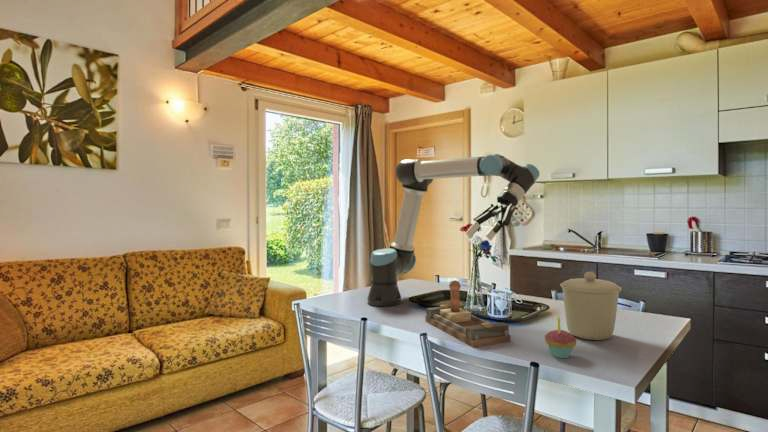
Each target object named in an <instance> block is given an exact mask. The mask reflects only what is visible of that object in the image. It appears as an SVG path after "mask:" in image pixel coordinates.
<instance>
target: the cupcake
mask: <svg viewBox="0 0 768 432" xmlns="http://www.w3.org/2000/svg"><path fill="white" fill-rule="evenodd" d="M544 341H545V343H546V344H547V345H548V347H549V350H550V353H551V356H553V357H554V358H555V357H556V358H557V359H568V358H570V356H571V352H572V350H573V349H574V347H575V346H576V345H577V338H576V336H574V335H572V334H571V333H570V332H569V331H567V330H564V329H563V330H562V329H561V318H560V315H558V316H557V329H555V330H554V329H553V330H550V331H548V332H547V333H546V334H545V335H544Z"/></svg>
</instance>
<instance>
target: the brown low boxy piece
mask: <svg viewBox="0 0 768 432" xmlns="http://www.w3.org/2000/svg"><path fill="white" fill-rule="evenodd" d="M449 308H451V304H450V305H449V304H440V305H439V306H437V307H435V306H434V307H427V308H426V315H425V318H424V319H425V320H424V321H425V322H426V323H429V324H430V325H432V326H434V327H435V328H438V329H439V330H441V331H443V332H445V333H446V334H448V335H450V336H453V337H454V338H455V339H457V340H459V341H460V342H463V343H465V344H466V345H469V346H471V347H472V348H475V347H476V348H477V347H481V346H482V345H483V346H488V344H489V345H494V344H493V343H496V344H500V343H501V342H502V343H506V342H507V343H509V342H511V340H512V339H511V337H512V336H511V334H509V330H510V329H509V324H508V323H505V322H496V323H491V322H490V321H487V320H485V319H482V318H480V317H477V316H475V315H473V314H471V321H465V322H458V323H454V322H452V321H450V320H448V319H446V318H443V317H441V316H440V310H441V309H449ZM460 308H462V309H464V306H463V305H461V304H460Z"/></svg>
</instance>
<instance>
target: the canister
mask: <svg viewBox="0 0 768 432" xmlns="http://www.w3.org/2000/svg"><path fill="white" fill-rule="evenodd" d="M583 277H584V278H580V277H579V278H570V279H567V280H564V281H563V282H561V283H560V284H559V286H560V287H561V288H562V297H563V305H564V306H563V307H564V312H565V322H566V327H567V330H568V333H570V334H572V335H573V336H574V337H575V338H580V339H583V340H589V341H603V340H607V339H609V338H611V336H612V335H613V334H614V331H615V327H616V326H615V325H616V318H617V311H618V305H619V304H618V303H619V293H620V292H621V290H622V287H621V286H619V285H618V284H616V283H615V282H614V281H613V282H612V281H609V280H606V279H605V280H604V279H601V278H600V279H598V278H597V275H596V273H595V272H593V271H586V272H584V274H583Z"/></svg>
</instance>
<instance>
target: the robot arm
mask: <svg viewBox="0 0 768 432" xmlns="http://www.w3.org/2000/svg"><path fill="white" fill-rule="evenodd" d="M489 176H490V177H492V176H494V177H501V178H502V179H504V180H505V181H507V182H508V184H507V185H506V186H505V187H504V189H503V191H501V192H500V193H499V195H497V198H496V201H497V203H495V204H493V202H492V203H490V204H489V205H488V206H487V207H485V209H483V210H482V211H481V212H480V213H478V214H477V215H476V216H474V217H473V218H472V220H473V221H474V222H473V223H472V225H470V226H469V228H468V229H467V230H466V232H465V234H466V236H468V238H472V237H473V235H474V234H476V232H477V230H478V229H479V228H480V227H481V226H482V225H481V224H483V223H485V222H486V221H488V220H491V218H495V217H497V216H498V219H497V220H496V222H495V223H494V225H492V227H491V228H490V229H489V230H488V231H487V233H486V234H485V237H486V238H487V240H489V241H492V240H493V239H494V238H495V236H496V235H497V234H498V233H499V232H500V230H501V229H502V228H504V227H508V226H509V225H510V223H511V219H512V217H513V215H514V214H513V213H514V212H515V211H516V206H517V205H518V204H519V202H520V201H521V200H522V199H523V198H524V197H525V195H526V194H527V192H528V191H529V190H530V189H531V188H532V187H533V185H535V183H536V181H537V180H538V179H539V177H540V170H539V168H537V166H535V165H534V164H531V163H525V164H524V165H523V166H521V165H519V164H517V163H515V161H512V160H510V159H508V158H507V157H506V156H504V155H501V154H499V153H495V154H488V155H485V156H474V157H473V156H472V157H471V156H470V157H459V158H458V157H457V158H447V159H445V158H444V159H433V160H432V159H431V160H423V159H421V158H404V159H403V160H400V161H399V162H398V163H397V165H396V167H395V177H396V179H397V180H398V182H400V184H401V185H402V186H401V188H402V190H403V191H404V193H403V197H402V202H401V207H400V211H399V216H398V217H399V218H398V221H397V227H396V231H395V237H394V241H392V242H391V243H390V244H389V248H379V249H375V250H374V251H372V252H371V254H370V261H369V263H370V288H369V291H368V295H367V304H368V305H371V306H374V307H392V306H398V305H400V304H401V303H402V295H401V292H400V289H399V286H398V276H401V275H406V274H408V273H410V272H411V271H412V270H413V269H414V268H415V266H416V263H417V257H416V255H415V246H413V244H414V237H415V233H416V229H417V224H418V219H419V215H420V210H421V205H422V200H423V196H424V195H425V194H426V193H427V192H428V188H429V185H431V183H432V182H433V181H434V179H436V180H437V179H450V178H453V179H454V178H467V177H468V178H469V177H470V178H471V177H489Z"/></svg>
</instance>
